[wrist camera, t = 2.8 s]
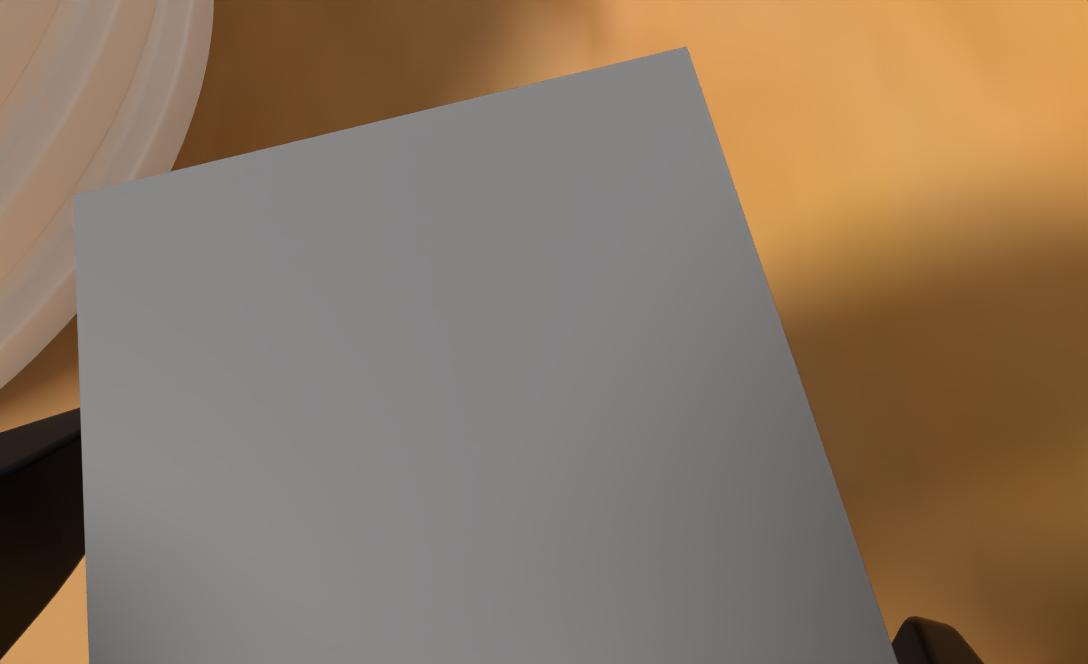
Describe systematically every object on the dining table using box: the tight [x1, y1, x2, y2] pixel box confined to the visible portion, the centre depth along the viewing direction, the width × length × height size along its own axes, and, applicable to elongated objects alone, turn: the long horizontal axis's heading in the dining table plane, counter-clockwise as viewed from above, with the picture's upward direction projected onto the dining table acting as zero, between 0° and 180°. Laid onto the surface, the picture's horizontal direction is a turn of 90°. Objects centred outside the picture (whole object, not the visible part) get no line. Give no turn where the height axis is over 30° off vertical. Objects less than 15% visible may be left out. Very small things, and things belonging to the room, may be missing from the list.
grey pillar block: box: [73, 47, 898, 664], centre depth 11 cm, size 5×5×12 cm
